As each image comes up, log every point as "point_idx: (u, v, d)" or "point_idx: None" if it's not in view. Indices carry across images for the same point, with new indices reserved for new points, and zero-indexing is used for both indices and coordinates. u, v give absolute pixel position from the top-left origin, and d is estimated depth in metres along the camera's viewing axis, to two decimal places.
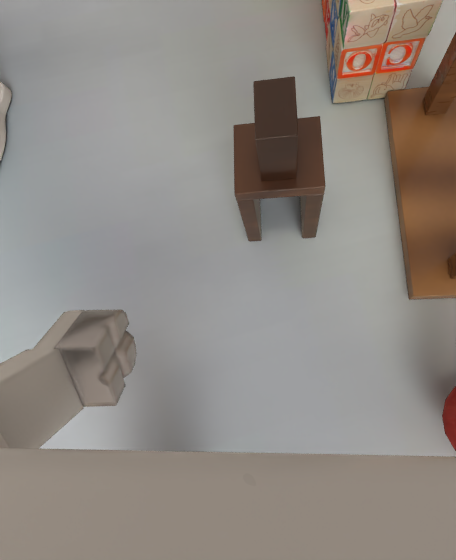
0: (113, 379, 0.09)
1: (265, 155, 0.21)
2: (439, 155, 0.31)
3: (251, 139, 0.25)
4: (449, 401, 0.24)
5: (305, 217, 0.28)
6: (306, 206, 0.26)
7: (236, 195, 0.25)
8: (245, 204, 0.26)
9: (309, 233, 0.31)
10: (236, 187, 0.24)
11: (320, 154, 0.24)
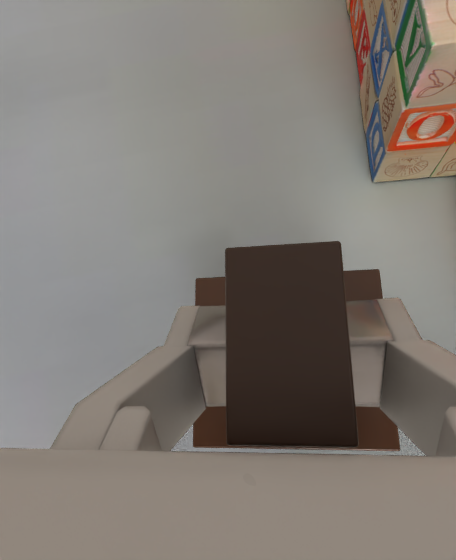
0: None
1: None
2: None
3: None
4: None
5: None
6: None
7: None
8: None
9: None
10: (197, 430, 0.11)
11: None
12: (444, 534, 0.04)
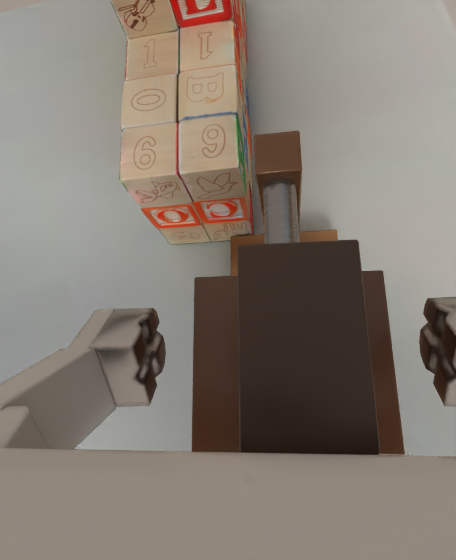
0: (146, 379, 0.09)
1: None
2: None
3: (232, 315, 0.11)
4: None
5: None
6: None
7: (196, 451, 0.11)
8: None
9: None
10: (196, 435, 0.11)
11: (389, 367, 0.10)
12: (444, 534, 0.04)
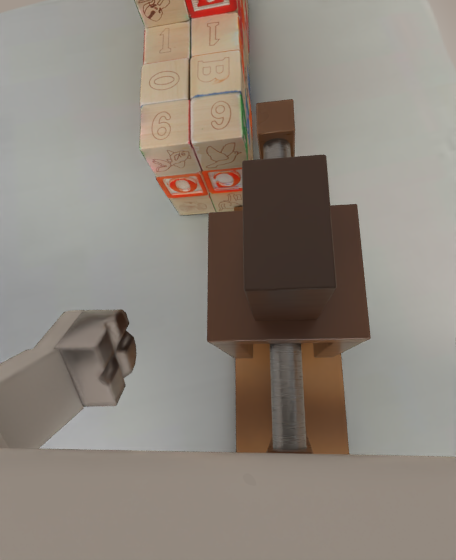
0: (113, 379, 0.09)
1: (264, 304, 0.11)
2: None
3: (238, 240, 0.14)
4: None
5: (324, 350, 0.17)
6: (329, 346, 0.16)
7: (210, 342, 0.14)
8: (227, 346, 0.15)
9: (325, 356, 0.21)
10: (210, 329, 0.14)
11: (360, 275, 0.14)
12: (444, 534, 0.04)
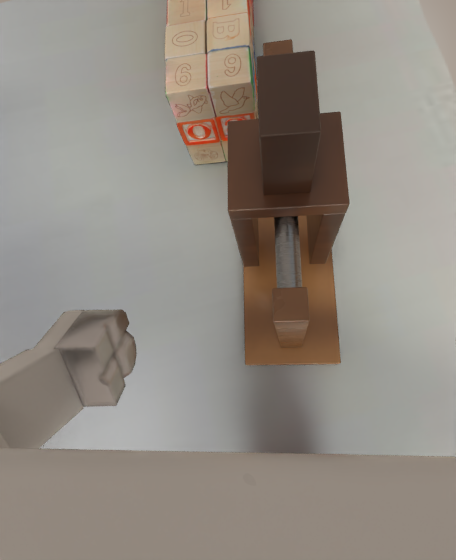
0: (113, 379, 0.09)
1: (272, 160, 0.15)
2: None
3: (250, 140, 0.19)
4: None
5: (317, 241, 0.22)
6: (320, 228, 0.20)
7: (230, 213, 0.18)
8: (241, 224, 0.20)
9: (318, 259, 0.25)
10: (230, 202, 0.18)
11: (342, 161, 0.18)
12: (444, 534, 0.04)
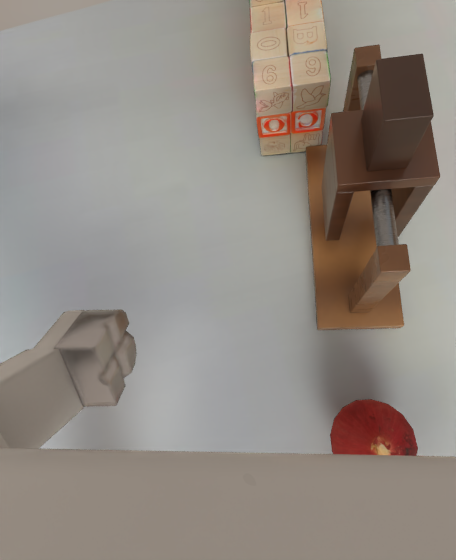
0: (113, 379, 0.09)
1: (386, 140, 0.19)
2: None
3: (352, 127, 0.23)
4: (334, 420, 0.29)
5: (400, 213, 0.26)
6: (407, 200, 0.24)
7: (338, 187, 0.23)
8: (343, 197, 0.24)
9: None
10: (339, 178, 0.23)
11: (431, 142, 0.22)
12: (444, 534, 0.04)
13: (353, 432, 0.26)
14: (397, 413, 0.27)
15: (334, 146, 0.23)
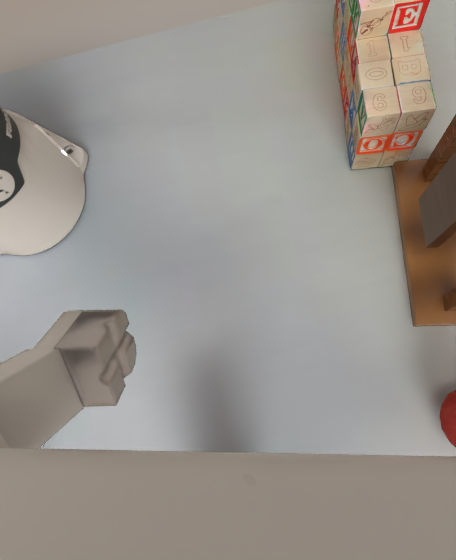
0: (113, 379, 0.09)
1: None
2: None
3: None
4: (444, 404, 0.33)
5: None
6: None
7: None
8: None
9: None
10: None
11: None
12: (444, 534, 0.04)
13: None
14: None
15: None
